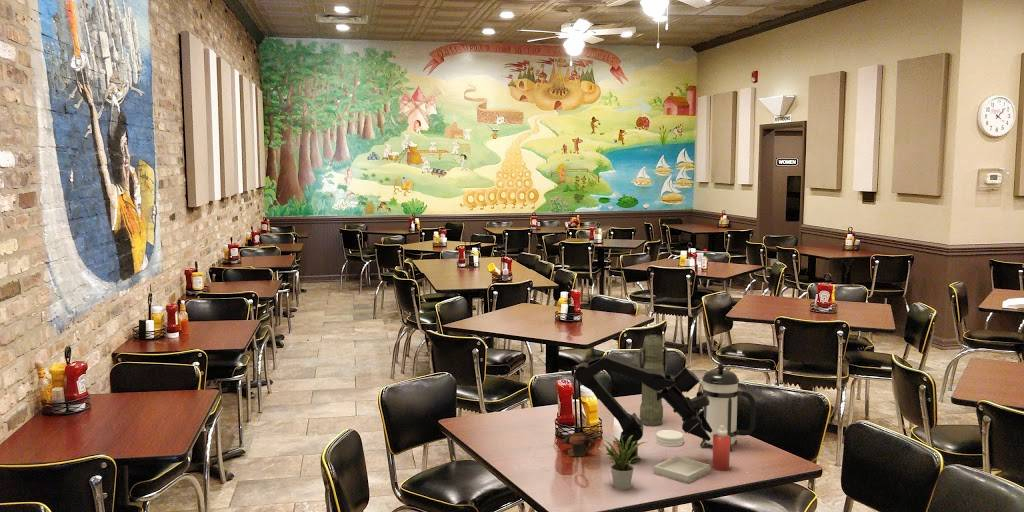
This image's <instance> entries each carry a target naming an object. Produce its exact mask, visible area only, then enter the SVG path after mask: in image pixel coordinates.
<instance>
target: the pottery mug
mask: <svg viewBox="0 0 1024 512" xmlns="http://www.w3.org/2000/svg"><path fill="white" fill-rule="evenodd" d="M585 435H586V434H585V433H583V432H574V433H573V432H572V433H568V434H565V435H564V436H563V437H564V439H563V441H562V445H564V444H567V445H571V448H572V449H568V450H567V455H568V457H585V456H586V454H588V453H589V452H590V451H591V450H593V449H594V448H595V445H596V442H595V439H593V438H592V437H585ZM585 453H586V454H585Z"/></svg>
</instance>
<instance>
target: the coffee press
mask: <svg viewBox="0 0 1024 512" xmlns="http://www.w3.org/2000/svg"><path fill="white" fill-rule="evenodd" d="M739 382H740V379H739V377H738V376H737V374H736V373H735V372H733V371H730V370H727V369H725V366H724V364H722V363H721V364H718V365H717V369H711V370H708V371H706V372H704V374H703V376H702V377H701V380H700V382H699V383H698V384H699V385H701V386H702V391H701V392H703V393H706V395H707V396H708V399H709V401H710V403H709V405H708V406H706V407H705V406H704V408H703V409H704V410H705V411H704V416H705V418H706V420H707V422H708V423H709V425H710V427H711V429H712V430H713V431H712V432H711V433H710V432H708V431H706V430H705V431H706V432H707V434H708V435H709V437H710V438H711V440H710V441H707V440H704V439H702V441H701V442H700V445H699V446H700V447H701V448H703V449H705V448H706V447H707V446H708V445H711V446H713V435H714V434H716V429H720V425H723V426H724V427H723V429H726V430H727V435H729V436H730V452H733V447H732V445H736V444H737V443H738V440H737V436H741V437H745V436H749V435H751V434H752V433H753V432H754V430H755V428H756V419H757V418H756V415H757V414H756V413H757V412H756V411H757V405H756V399H755V397H754V396H753V394H751V393H750V392H747V391H746V390H742V391H741V390H739V389H738V385H739ZM741 396H742V397H745V398H747V400H748V401H749V403H750V405H749V406H750V413H749V415H750V416H749V427H748V429H747V430H741V429H740V430H739V429H738V428H737V423H738V421H737V420H738V419H737V416H738V397H741ZM703 409H702V410H703Z"/></svg>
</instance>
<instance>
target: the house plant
mask: <svg viewBox="0 0 1024 512" xmlns="http://www.w3.org/2000/svg"><path fill="white" fill-rule="evenodd" d="M632 436H633V435H632ZM632 436H630V437H629V438H628V440H627V442H626V444H625V450H624V444H623V440H622V438H621V440H622V446H621V443H620V439H619V438H617V437H616V436H614V435H612V437H613V439H614V440H615V442H616V444H617V448H618V452H619V453H620V457H621V459H620V457H619V453H618V452H617V451H616V449H615V447H614V445H612V444H611V443H610V442H609V441H607V440H604V442H605V443H607V444H608V445H609V446H608V445H606V444H605V443H603V446H604V447H605V449H606V451H607V453H606V455H607V458H609V459H611V460H613V461H610V462H609V465H610V464H612V465H610V470H611V476H612V478H611V479H612V483H613V487H614V489H617V490H627V489H628V490H629V489H630V488H631V485H632V484H631V483H632V479H633V474H634V468H635V467H634V466H633V465H631V464H630V463H632V462H634V463H637V462H641V460H639V461H638V460H633V459H635V458H641V457H640V456H634V457H632V458H631V459H630V461H628V459H629V457H630V455H631V454H632V453H633V452H634V451H635V450H636V449H637V447H638V448H639V446H640V445H642V444H645V443H646V444H647V441H641V442H640V443H639V442H638V444H637V445H635V446H634V444H635V442H636V441H635V442H632V445H631V447H630V450H629V451H628V452H627V449H628V448H629V447H628V445H629V443H630V441H631V438H632ZM629 446H630V445H629ZM633 446H634V447H633ZM632 447H633V448H634V449H633V448H632ZM632 449H633V450H632ZM631 450H632V452H631ZM636 461H637V462H636ZM632 464H633V463H632Z"/></svg>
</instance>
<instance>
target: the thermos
mask: <svg viewBox="0 0 1024 512" xmlns="http://www.w3.org/2000/svg"><path fill="white" fill-rule="evenodd" d="M637 367H639V368H644V369H654V370H660V371H662V372H663V373H664V374H667V369H668V349H667V348H666V346H664V345H663V339H662V336H660V335H659V334H647V335H645V336H644V340H643V343H642V347H640V348H639V349H638V351H637ZM662 390H663V389H662ZM662 390H660V391H658V392H661V391H662ZM656 393H657V391H655V390H653V389H651V388H649V387H648V386H646V385H644V384H643V383H642V382H641V404H640V406H639V419H640V420H642V424H643V426H645V427H652V428H653V427H660V426H662V425H663V418H664V407H663V397H662V398H661V399H660V400H659V401H657V394H656Z"/></svg>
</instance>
